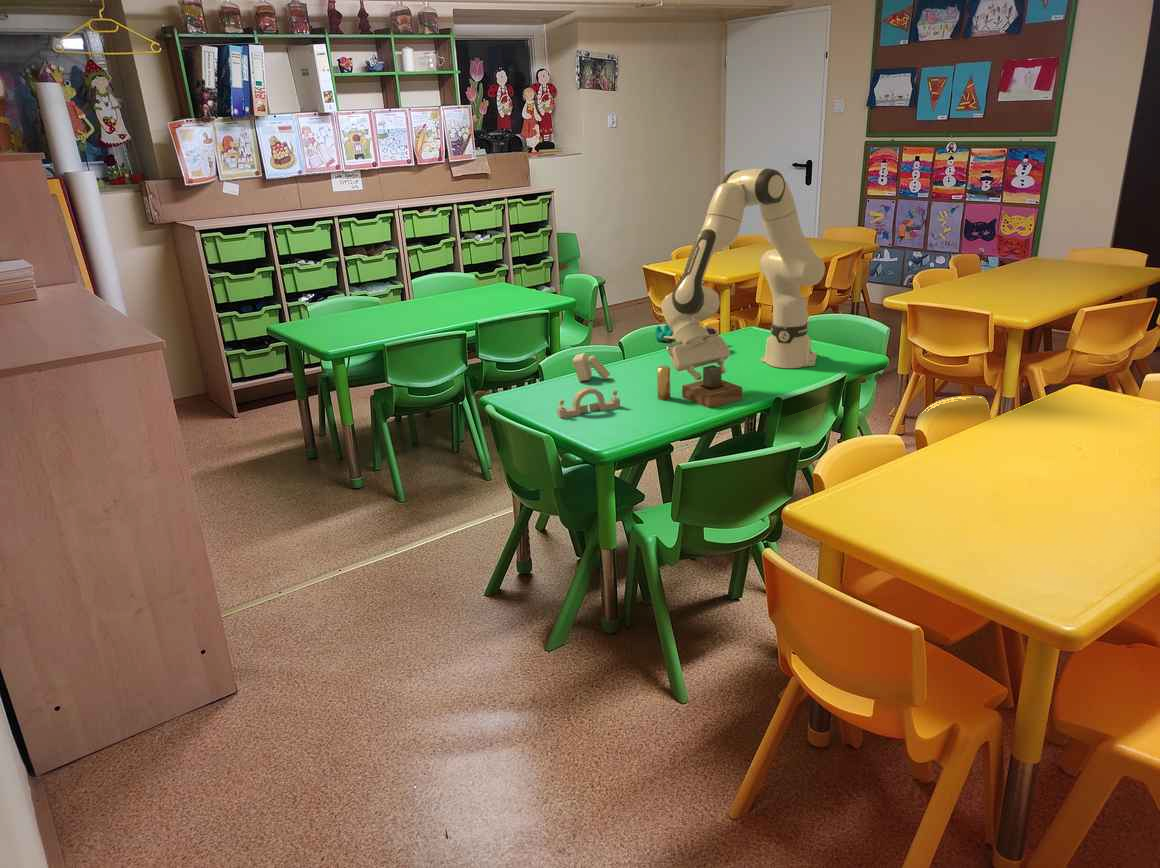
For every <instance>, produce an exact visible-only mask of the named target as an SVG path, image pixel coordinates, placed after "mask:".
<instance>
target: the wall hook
mask: <svg viewBox="0 0 1160 868" xmlns="http://www.w3.org/2000/svg"><path fill="white" fill-rule="evenodd" d="M572 363H573V364H572V365H573V366H574V370H575V374H576V375H577V379H578V382H579V383H581V382H585V381H589V380H590V379H591V377H592V375H593V372H592V368H593V369H594V371H596V372H597V374H598V375H599V376H600V377H601V378H602V380H603V379H604V380H606V379H607V378H608V377H609V376H610V375H611V372H610V371H609V370H607V368H606V367H605V366H604V364H603V363H602V362H601V361H600V359H598V358H597V357H596V356H595V355H590V356H589V357H588V355H587V352H583V353H578V354H575V355H574V357H573V359H572ZM591 367H592V368H591Z"/></svg>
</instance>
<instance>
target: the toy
mask: <svg viewBox="0 0 1160 868" xmlns="http://www.w3.org/2000/svg"><path fill="white" fill-rule="evenodd" d="M705 327H706V328H712V327H711V326H709V325H706V326H705ZM713 328H714V329H716V328H715V327H713ZM654 331H655V335H654V336H655V340H656V341H657V342H659V343H660V342H665V341H666V340H669V341H670V340H674V342H675V343H676V342H677V341H676V339H675V337H674V333H673V331H672V330H671V329H670V328H669V326H668V324H667V323H665V324H664V326H663V329H662V328H661V326H660V325H657V326H656V327H655V330H654ZM719 335H720V334H718V335H717V336H719Z"/></svg>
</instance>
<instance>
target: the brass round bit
mask: <svg viewBox="0 0 1160 868" xmlns="http://www.w3.org/2000/svg"><path fill="white" fill-rule="evenodd" d="M656 374H657V375H656V377H657V379H656V380H657V399H658V400H660V401H669V400H670V399H671V366H668V365H660V366H657V369H656Z"/></svg>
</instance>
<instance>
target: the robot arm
mask: <svg viewBox="0 0 1160 868" xmlns="http://www.w3.org/2000/svg"><path fill="white" fill-rule="evenodd" d="M747 206H748V207H751V206H759V211H760V216H761V219H762V224H763V228H764V232H765V236H766V239H767V241H768V242H769V244H770V245H771V246H772V247H774V248H773V249H769V250H767V251H766V252H764V254H763V255H762V256H761V258H760V263H759V268H760V273H761V274H762V275H763V276H764V278H766V279H765V280H766V281H767V283H768V286H769V290H770V293H771V297H772V323H771V326H770V330H771V331H770V333H771V335H770V336H768V337H767V338H766V346H765V355H764V356H762V357H761V359H760V361H761V362H762V363H763V362H764V363H765V364H767V365H769V366H771V367H773V368H779V369H799V368H805V367H814V366H816V362H817V357H818V352H816V351H813V350H811V349H812V340H811V338H810V337H809V335H808V325H809V323H808V321H807V309H808V308H807V307H808V302H807V300H806V297H805V296H804V295H803V293H802V292H801V290H800V288H799V287H809V286H815V285H817V284H818V283H820V281H822V279H823V278H824V276H825V271H826V265H825V262H824V260H823V259H822V258H821V257H820V256H819V255H818V254H817V253H816V252H815V251H814V249H813V247H811V244H809V242H808V240H807V238H806V236H805V234H804V232H803V230H802V227H801V223H800V219H799V215H798V211H797V208H796V204H795V199H794V196H793V194H792V191H791V188H790V187H789V185H788V182H786V180H785V178H784V176H783V175H782V173H781V172H780V171H778V170H776V169H773V168H758V167H757V168H754V167H752V168H748V169H743V170H742V169H741V170H740V169H737V170H733V171H731V172H729V173H727V174H726V175H725V176H724V177H723V179H722V182H721V184H719V185H718V186H717V188H716V189H715V191H714V193H713V195H712V198H711V199H710V201H709V205H708V209H707V211H706V215H705V219H704V222H703V225H702V227H701V231H700V232H699V234H698V235H697V237H696V239H695V241H694V243H693V246H692V249H691V250H690V251H691V252H690V254H689V256H688V259H687V262H686V266H685V268H684V269H683V270H684V271H683V274H682V276H681V278H680V280H679V281H678V282H677V284H676V285H675V286H674V289H673V291H672V292H670V293H669V294H667V295H666V296H665V297H664V298H663V299H662V302H661V306H660V309H661V312H662V313H661V314H663V315H662V316H663V317H664V319H665V322H666V324H668V326H669V328H670V329H671V331H673V333H674V337H675V339H674V340H676V341H677V342H676V341H675V342H674V343H673V342H672V343H669V344H668V345H667V347H666V351H667V353H668V355H669V356H670V361H671V363H672V366H673V368H674V369H675V370H676V371H677V372H683V371H687V373H689V374H690V375H691V376H693V378H694V380H695V381H701V380H702V379H703V374H701V372H698V371H697V370H696V369H695V368H701V367H705V366H709V365H711V364H712V365H713V364H715V363H716V364H717V365H716V366H718V367H721V368H722V375H723V374H726V371H727V370H726V368H725V361H727V359H728V358H729V357H730V356H731V351H730V348H729V347H728V344H726V342H725V340H724V338H722V337H721V336H717V335H720V331H719V330H718V329H717V328H715V327H711V328H706V326H701V325H700V323H701V322H703V321H706V320H708V319H710V318H711V317H713V316H715V315H716V314H717V312H718V311H719V308H720V305H721V298H720V296H719V294H718V292H717V291H715V290H714V289H712V288H710V287H707V286H705V285H703V283H704V282H703V281H704V278H705V275H706V272H707V270H708V266H709V263H710V261H711V259H712V257H713V255H714V254H715V253H716V252H718V251H719V250H723V249H727V248H729V247H730V246H731V245H733V244H734V243H735V242H736V239H737V237H738V235H739V233H740V229H741V227H742V222H743V218H744V217H743V216H744V212H745V208H746V207H747ZM714 328H715V329H714Z"/></svg>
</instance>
